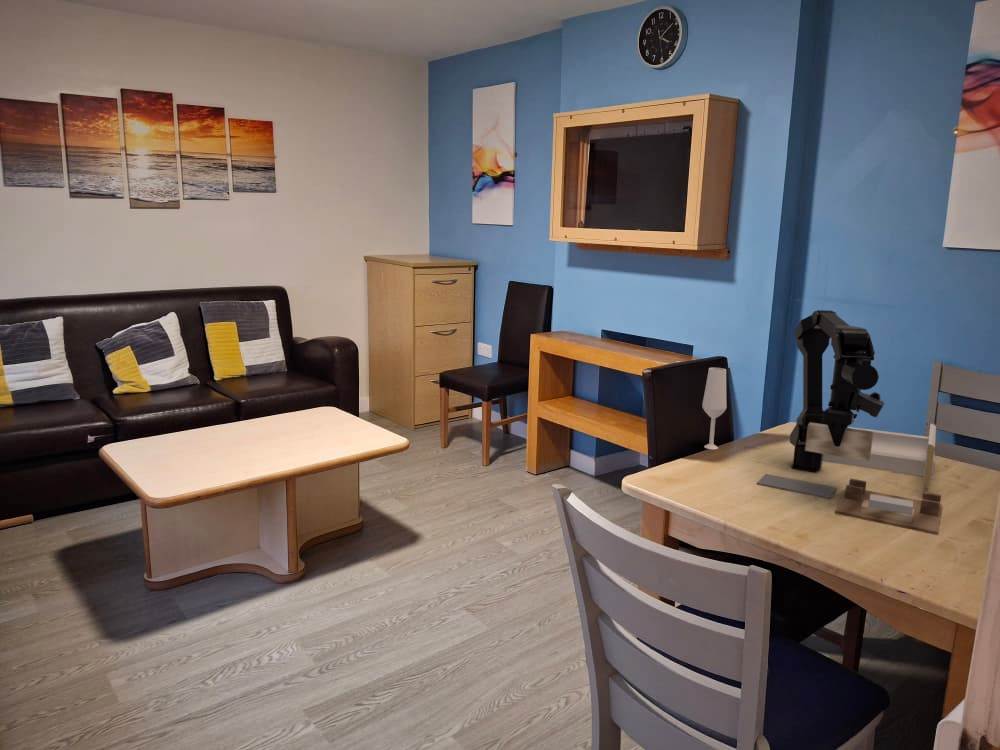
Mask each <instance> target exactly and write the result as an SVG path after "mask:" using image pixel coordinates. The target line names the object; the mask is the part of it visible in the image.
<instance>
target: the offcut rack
mask: <svg viewBox="0 0 1000 750" xmlns="http://www.w3.org/2000/svg"><path fill="white" fill-rule="evenodd" d="M866 487H867V480H861V479H856V478H850V479H849V484H846V486H845V492H844V494H843V496H842V498H841V499H840V501H839V503H838V504H837V506H836V508H835V510H834V514H838V515H842V516H848V517H852V518H857V519H862V520H866V521H872V522H876V523H881V524H886V525H890V526H895V527H901V528H905V529H909V530H914V531H920V532H922V533H923V532H924V533H929V534H933V535H939V529H940V522H941V515H942V510H943V504H941V498H942V494H937V493H932V492H926V491H923V493H922V499H921V500H919V499H914V498H908V497H903V496H898V495H893V494H892V495H891V494H888V493H882V492H876V491H872V490H866ZM870 494H874V495H880V496H886V497H891V498H897V499H903V500H909V501H913V509H914V516H913V520H912V524H909V523H904V522H899V521H894V520H889V519H884V518H879V517H875V516H870V515H865V514H860V512H861V505H862V503H863V501H864V500H870Z"/></svg>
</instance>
